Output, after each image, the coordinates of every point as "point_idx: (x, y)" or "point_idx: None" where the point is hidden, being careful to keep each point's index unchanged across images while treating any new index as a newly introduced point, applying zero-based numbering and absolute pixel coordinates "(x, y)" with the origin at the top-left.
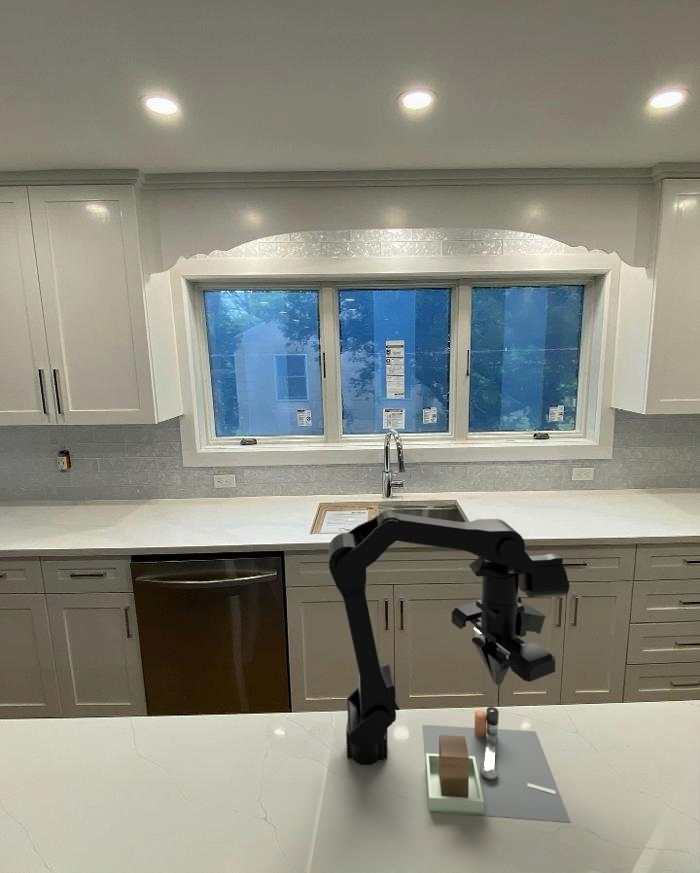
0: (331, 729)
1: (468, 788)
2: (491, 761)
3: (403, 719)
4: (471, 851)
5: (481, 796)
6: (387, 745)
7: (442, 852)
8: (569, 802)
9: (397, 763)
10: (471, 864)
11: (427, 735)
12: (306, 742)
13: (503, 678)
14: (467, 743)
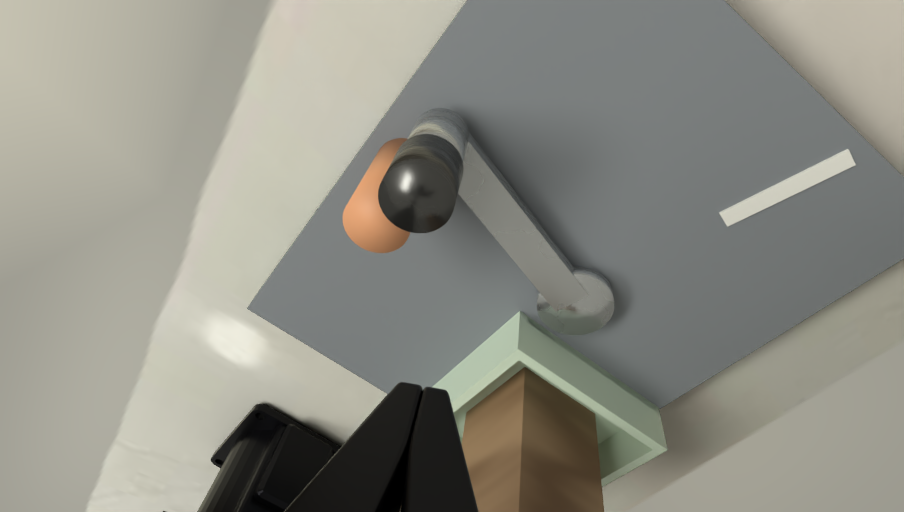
0: (153, 458)
1: (597, 447)
2: (558, 274)
3: (178, 300)
4: (675, 448)
5: (649, 442)
6: (296, 458)
7: (621, 486)
8: (895, 89)
9: (343, 414)
10: (694, 467)
11: (302, 329)
12: (179, 509)
13: (459, 446)
14: (413, 246)
